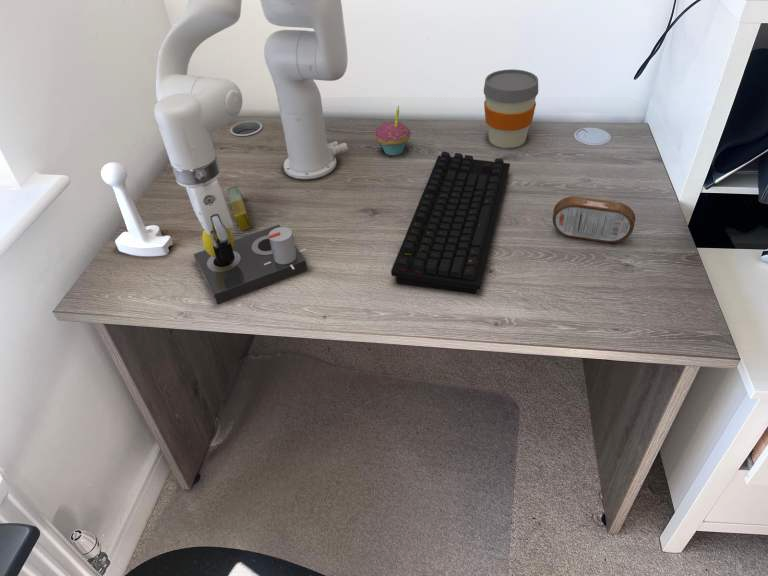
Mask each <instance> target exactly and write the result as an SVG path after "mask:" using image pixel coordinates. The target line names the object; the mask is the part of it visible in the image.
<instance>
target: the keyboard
mask: <svg viewBox="0 0 768 576" xmlns="http://www.w3.org/2000/svg"><path fill="white" fill-rule="evenodd" d="M510 167H511V163H509V162H504V158H503V157H502V158H495V159H494V161H493V160H492V161H491V160H484V159H475V158H474V156H473V155H470V154H469V155H467V154H465V155H464V156H463V153H460V152H455V153H454V156H451V154H450V152H448V151H442V152H441V154H440V155H437V157H436V160H435V163H434V165H433V168H432V170H431V172H430V175H429V177H428V180H427V182H426V184H425V187H424V190H423V192H422V195H421V197H420V199H419V200H418V201H419V202H418V204H417V207H416V209H415V211H414V213H413V216H412V219H411V220H410V223H409V226H408V229H407V231H406V233H405V235H404V238H403V240H402V243H401V245H400V248H399V250H398V253H397V255H396V258H395V260H394V263H393V265H392V267H391V270H390V274H391V276H392V277H395V280H396V284H397V285H405V286H411V287H420V288H424V289H425V288H426V289H434V290H442V291H447V292H456V293H462V294H463V293H464V294H469V295H470V294H471V295H477V292H478V290H481V288H482V284H483V279H484V275H485V271H486V267H487V263H488V258H489V255H490V250H491V247H492V246H491V245H492V242H493V238H494V235H495V234H494V233H495V230H496V226H497V221H498V217H499V213H500V208H501V205H502V200H503V197H504V192H505V189H506V184H507V179H508V176H509V171H510Z"/></svg>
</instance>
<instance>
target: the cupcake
mask: <svg viewBox="0 0 768 576" xmlns="http://www.w3.org/2000/svg"><path fill="white" fill-rule="evenodd" d="M399 116H400V105H398V106H397V108H396V109H395V119H394V120H395V121H388V122H386V121H385V122H382V123H381V124H380V125H379V126H378V127H376V128H375V129H376V130H375V132H374V140H375V141H376V142H377V143H378V144H380V146H381V147H382V150H383V152H384V153H385V154H386V155H388V156H398V155H401V154H402V153H403V152H404V150H405V146H406V143H408V141H409V139H410V138H411V133H412V132H411V129H410V128H409V127H408V126H407V125H405V123H404V122H400V121H399Z"/></svg>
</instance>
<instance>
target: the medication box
mask: <svg viewBox="0 0 768 576" xmlns="http://www.w3.org/2000/svg"><path fill="white" fill-rule="evenodd" d="M226 191H227V195H228V196H227V197H228V200H229V203H230V205H231V209H232V213H233V217H234V219H235V222H236V224H237V226H238V228H239V230H240V231H241V232H243V231H245V230H249V229H251V228H253V226H252V222H251V219H250V215H249V212H248V210H247V206H246V202H245V200H244V198H243V195H242V192H241V189H240V188H239V185H235V186H232V187H229V188H227V189H226Z"/></svg>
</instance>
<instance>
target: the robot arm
mask: <svg viewBox="0 0 768 576" xmlns="http://www.w3.org/2000/svg"><path fill="white" fill-rule="evenodd" d="M242 1H243V0H187V4H186V8H185V9H184V11H183V12H182V13H181V15H180V16H179V17H178V18H177V19H176V21H175V22H174V23H173V25H172V26H171V27H170V29H169V30H168V33H167V34H166V36H165V38H164V39H163V41H162V43H161V46H160V48H159V51H158V55H157V61H156V74H155V97H156V101H157V102H156V103H155V105H154V108H153V114H154V118H155V120H156V124H157V127H158V131H159V132H160V135H161V139H162V142H163V145H164V148H165V151H166V154H167V157H168V160H169V163H170V166H171V170H172V172H173V175H174V178H175V181H176V183H177V184H178V185H179V186H181V187H184V188H185V190H186V192H187V193H186V194H187V196H188V197H189V198H188V199H189V202H190V204H191V206H192V210H193V211H194V214H195V216H196V217H197V219H198V221H199V223H200V225H201V227H202V230H203V231H204V230H205V232H206V233H207V235H210V236H211V238H212V241H213V244H214V246H213V249H214V252H215V255H216V259H217V262H218V264H223V263H225V262H228V261H231V260H234V259H235V256H234V253H233V249H232V246H231V242H230V240H229V238H228V235H227V232H226V229H225V227H226V228H227V229H228V230H232V229H233V228H234V224H233V220H232V217H231V215H230V212H229V209H228V206H227V202H226V199H225V196H224V193H223V190H222V187H221V185H220V182H219V179H218V178H219V177H220V176H221V169H220V165H219V161H218V157H217V154H216V150H215V147H214V144H213V143H214V142H213V140H212V135H211V134H212V132H214V131H216V130H218V129H220V128H222V127H225V126H226V125H229V124H230V123H232V122H233V121H234V120H235V119H237V117H238V116H239V114H240V112H241V110H242V107H243V102H244V101H243V94H242V91H241V89H240V87H239V86H238V85H237V83H235V82H233V81H232V80H229V79H227V78H221V77H209V76H202V75H189V74H188V69H189V64H190V61H191V58H192V56H193V54H194V52H195V51H196V50H197V48H198V47H199V46H200V45H201V44H202V43H203V42H205V41H206V40H208V39H210V38H211V37H213V36H214V35H216V34H218V33H220V32H222V31H223V30H225V29H228V28H230V27H232V26H234V25H235V24H236V23H237V22H238V21H240V18H241V15H242V13H241V12H242ZM260 4H261V8H262V12H263V15H264V17H265V19H266V20H267V22H268V23H269V24H271V25H274V26H278V27H283V28H284V27H286V28H302V29H281V30H277V31H274V32H272V33H271V34H270V35H268V37H267V38H266V40H265V42H264V47H263V54H264V60H265V64H266V67H267V69H268V71H269V74H270V76H271V79H272V82H273V86H274V90H275V93H276V98H277V102H278V103H277V104H278V108H279V109H278V110H279V114H280V119H281V124H282V130H283V134H284V141H285V145H286V152H287V156H288V157H287V158H285V160H284V162H283V170H284V172H285V174H286V175H287V176H289V177H291V178H293V179H297V180H313V179H318V178H321V177H324V176H327V175H329V174H330V173H331V172H333V171H334V169H335V168H336V166H337V157H336V156H337V154H339V153H343V152H347V151H348V150H349V149H348V145H347V143H346V142H343V143H339V142H338V141H337V140H336V141H332V142H330V143H328V140H327V139H328V138H327V132H326V124H325V118H324V111H323V102H322V96H321V92H320V89H319V87H318V85H317V83H316V81H325V82H326V81H327V82H333V81H337V80H340V79H341V78H343V77H344V76H345V73H346V72H347V68H348V47H347V46H348V45H347V37H346V28H345V22H344V13H343V5H342V0H260ZM305 29H313V30H305ZM212 228H215V230H213V231H212ZM203 231H202V232H203ZM216 234H217V236H218V239H217V240H216V239H215V236H214V235H216Z"/></svg>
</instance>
